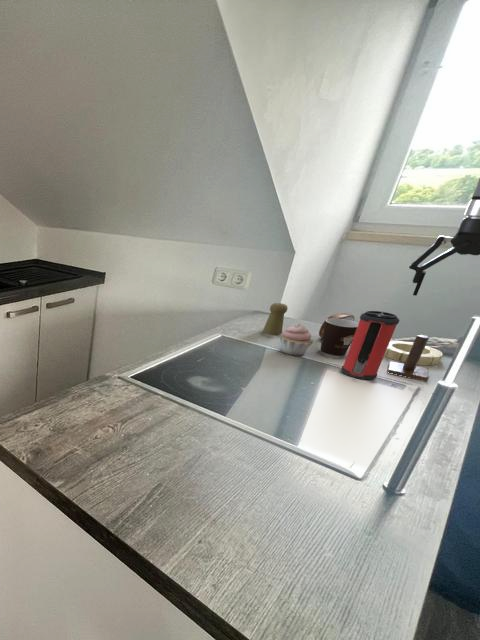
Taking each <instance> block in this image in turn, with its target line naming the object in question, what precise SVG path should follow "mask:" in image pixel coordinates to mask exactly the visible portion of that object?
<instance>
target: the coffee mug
mask: <svg viewBox="0 0 480 640" xmlns="http://www.w3.org/2000/svg"><path fill="white" fill-rule="evenodd" d="M324 321H325V326H324V332H323V337H321V344H320V349H319V351H320V352H322V353H323V354H326V355H330V356H335V357H342V356H346V355H347V353H348V351H349V349H350V346H351V343H352V340H353V338H354V335H355V332H356V329H357V327H358V324H359V322H356V321H355V320H354V321H350V320H344V319H327V318H326V319H325V320H324Z"/></svg>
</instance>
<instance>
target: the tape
mask: <svg viewBox="0 0 480 640" xmlns="http://www.w3.org/2000/svg"><path fill="white" fill-rule="evenodd" d="M413 343H414V342H411V341H403V340H390V342H389V345H388V347H387V350H386V352H385V355H384V357H386V358H388V359H391V360H393V361H396V362H399V361H400V363H405V361H406V359H407V357H408V355H409V352H410V350H411V348H412V345H413ZM443 356H444V355H443V352H442V351H441V350H439V349H436V348H434V347H432V346H429V345H426V346H425V348H424V350H423V352H422V355H421V357H420V359H419V361H418V363H417V366H418V365H419V366H434V365H439V364H440V363H441V360H442V358H443Z"/></svg>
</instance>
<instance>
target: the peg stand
mask: <svg viewBox="0 0 480 640" xmlns="http://www.w3.org/2000/svg"><path fill="white" fill-rule="evenodd" d="M429 339H430V336H428V335H424V334H417V335H416V336H415V338H414V341H413V342H412V343H413V345H412V348H411V350H410V352H409V355H408V357H407V359H406V361H405V362H404V363H403V362H398V361H392V360H390V361H389V363H388V365H389V366H388V365H387V372H389V373H393V374H392V375H394V374H397V375H396V376H398V377H400V376H399V375H402V376H401V377H403V376H406V377H405V378H407V379H412V380H416V381H422V380H423V381H422V382H426V383H427V382H428V380H429V375H430V374H429V368H427V367H423V366H418V365H417V363H418V361H419V359H420V357H421V355H422V352H423V350H424V348H425V346H427V343H428V342H429ZM389 373H387V374H388V375H390V374H389ZM394 376H395V375H394ZM408 377H410V378H408ZM403 378H404V377H403ZM413 378H414V379H413Z"/></svg>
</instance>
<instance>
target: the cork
mask: <svg viewBox="0 0 480 640" xmlns="http://www.w3.org/2000/svg"><path fill="white" fill-rule="evenodd" d="M288 309H289V308H288V305H287V304H286V303H282V302H274V303H272V304H271V305H270V306H269V311H270V313H269V315H268V318H267V321H266V323H265V325H264V327H263V329H262V333H263V334H265V335H270V336H280V335H282V332H283V328H284V319H285V314H286V313H287V312H288Z"/></svg>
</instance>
